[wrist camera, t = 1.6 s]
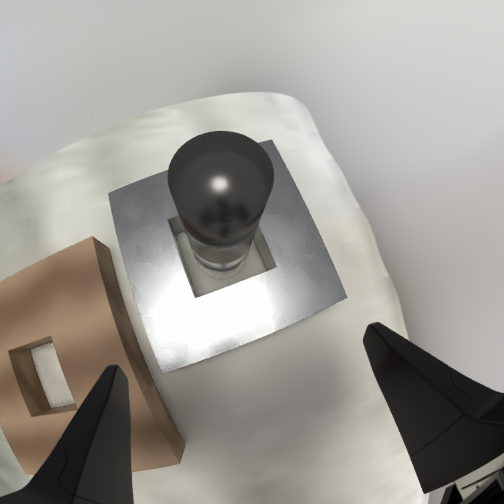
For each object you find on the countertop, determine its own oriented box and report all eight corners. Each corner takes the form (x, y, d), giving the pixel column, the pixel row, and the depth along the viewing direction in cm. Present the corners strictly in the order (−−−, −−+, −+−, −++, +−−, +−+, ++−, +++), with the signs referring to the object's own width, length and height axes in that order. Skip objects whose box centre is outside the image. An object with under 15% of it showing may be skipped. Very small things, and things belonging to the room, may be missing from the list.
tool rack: (185, 444, 18) (179, 463, 15) (41, 462, 15) (25, 473, 11) (109, 248, 21) (92, 236, 18) (-14, 305, 18) (-34, 302, 15)
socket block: (329, 301, 22) (347, 297, 19) (171, 365, 20) (162, 373, 16) (265, 161, 25) (271, 139, 22) (121, 210, 22) (108, 193, 19)
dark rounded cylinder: (252, 268, 22) (291, 201, 10) (206, 286, 22) (185, 238, 9) (234, 224, 23) (250, 121, 11) (189, 241, 22) (157, 148, 10)
